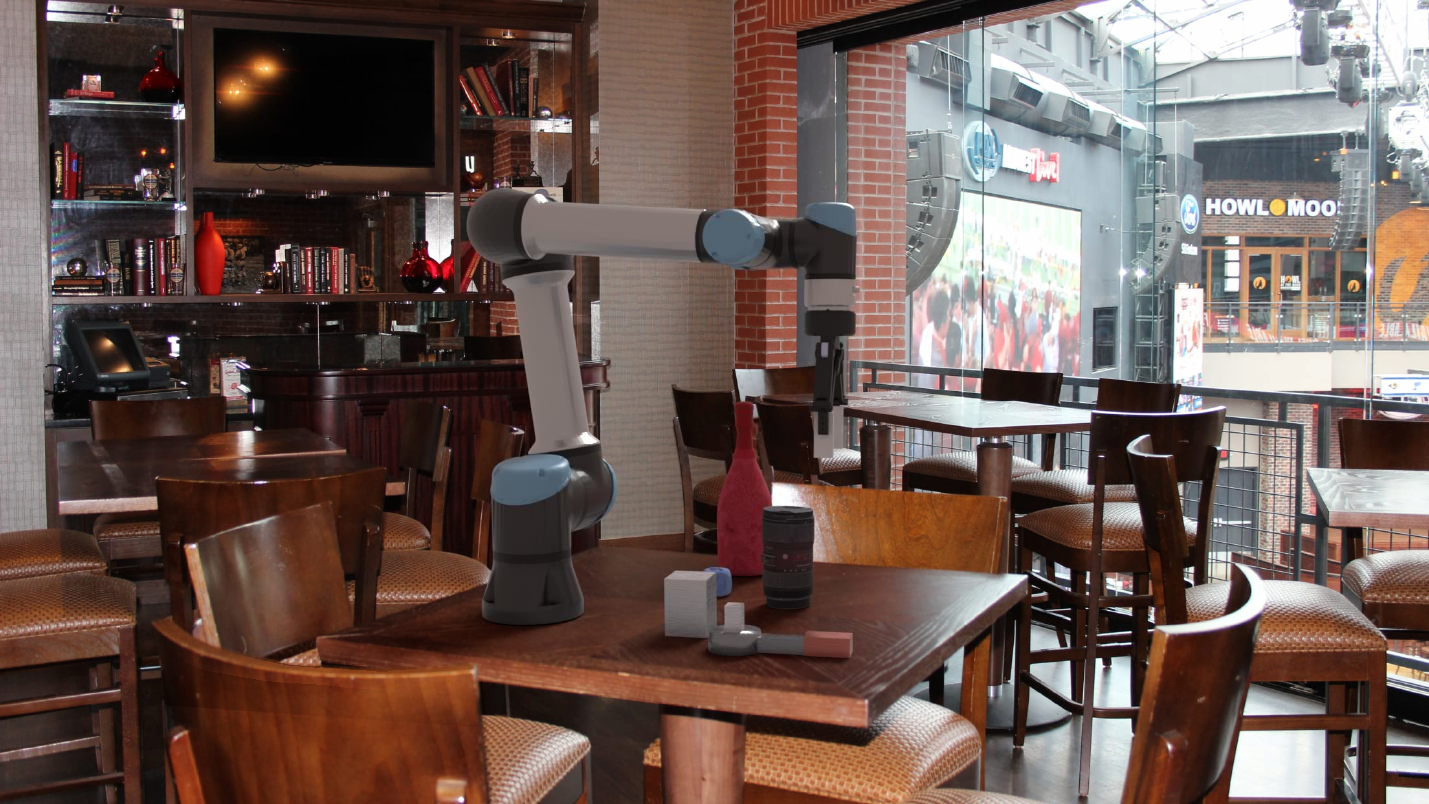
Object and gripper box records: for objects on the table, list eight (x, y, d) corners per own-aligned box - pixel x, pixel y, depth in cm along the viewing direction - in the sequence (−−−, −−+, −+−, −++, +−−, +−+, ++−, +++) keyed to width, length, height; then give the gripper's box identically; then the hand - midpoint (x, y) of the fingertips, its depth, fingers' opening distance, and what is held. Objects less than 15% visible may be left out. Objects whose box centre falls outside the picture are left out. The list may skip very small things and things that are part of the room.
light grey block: (664, 635, 170) (664, 578, 170) (676, 625, 176) (675, 570, 176) (706, 638, 169) (706, 580, 169) (716, 627, 175) (716, 572, 174)
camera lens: (811, 611, 184) (811, 512, 183) (758, 609, 186) (757, 511, 185) (817, 600, 192) (817, 505, 191) (766, 598, 194) (766, 504, 193)
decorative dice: (725, 590, 200) (725, 566, 200) (732, 596, 196) (731, 571, 196) (701, 592, 199) (701, 567, 199) (707, 597, 195) (707, 572, 195)
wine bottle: (718, 567, 220) (717, 399, 218) (773, 566, 220) (772, 399, 218) (716, 578, 210) (714, 403, 208) (773, 577, 210) (772, 402, 208)
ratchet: (702, 654, 160) (702, 609, 160) (715, 641, 167) (714, 597, 167) (847, 662, 156) (847, 615, 156) (854, 648, 163) (854, 603, 163)
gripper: (847, 308, 168) (845, 462, 169) (863, 310, 192) (861, 445, 193) (792, 308, 169) (791, 461, 170) (815, 310, 193) (814, 444, 195)
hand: (829, 453), depth 182 cm, fingers open, 13 cm apart
